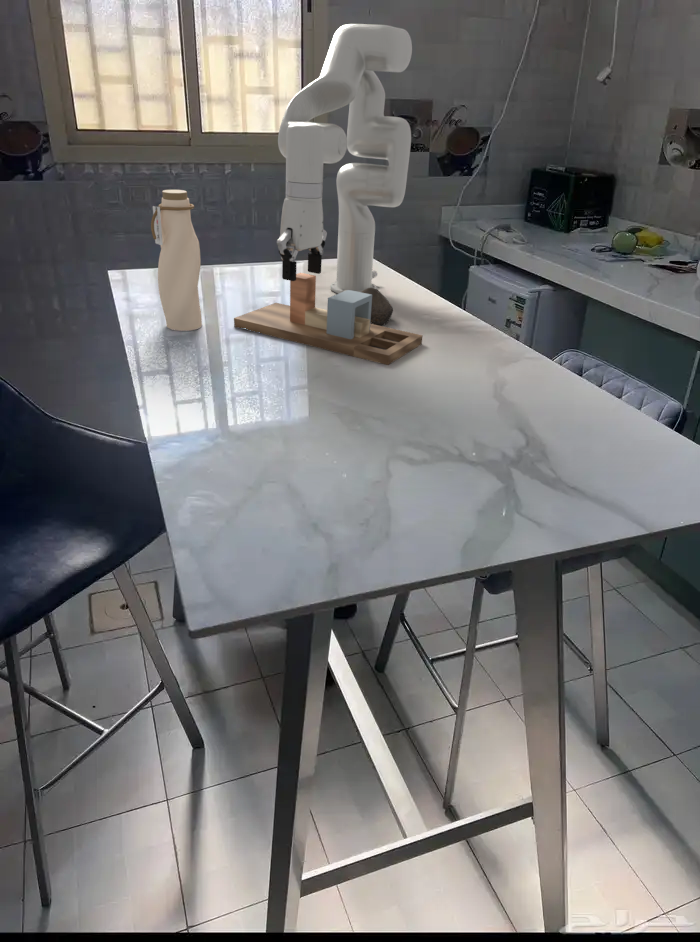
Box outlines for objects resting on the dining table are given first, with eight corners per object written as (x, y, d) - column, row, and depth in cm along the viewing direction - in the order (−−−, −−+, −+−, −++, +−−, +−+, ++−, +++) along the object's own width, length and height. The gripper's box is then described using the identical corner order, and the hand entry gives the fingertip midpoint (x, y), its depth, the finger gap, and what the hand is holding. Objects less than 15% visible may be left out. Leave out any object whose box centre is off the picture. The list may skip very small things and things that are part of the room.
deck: (275, 310, 166) (275, 302, 165) (421, 344, 150) (422, 335, 149) (234, 326, 154) (233, 318, 153) (388, 365, 137) (388, 355, 136)
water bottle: (177, 336, 146) (166, 196, 132) (150, 326, 151) (137, 190, 137) (213, 326, 153) (206, 192, 140) (186, 317, 158) (177, 187, 144)
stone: (394, 336, 166) (389, 299, 168) (396, 319, 157) (390, 280, 160) (354, 341, 165) (349, 304, 168) (353, 324, 157) (348, 285, 160)
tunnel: (346, 324, 153) (348, 289, 149) (369, 329, 150) (372, 294, 146) (326, 333, 146) (327, 297, 143) (350, 339, 144) (352, 303, 140)
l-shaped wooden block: (300, 317, 156) (300, 272, 151) (369, 332, 148) (372, 286, 143) (289, 321, 153) (290, 276, 148) (360, 337, 145) (362, 290, 140)
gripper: (311, 186, 148) (309, 267, 156) (263, 192, 135) (264, 280, 143) (341, 190, 145) (337, 272, 153) (295, 196, 131) (293, 286, 140)
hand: (302, 276), depth 148 cm, fingers open, 9 cm apart
